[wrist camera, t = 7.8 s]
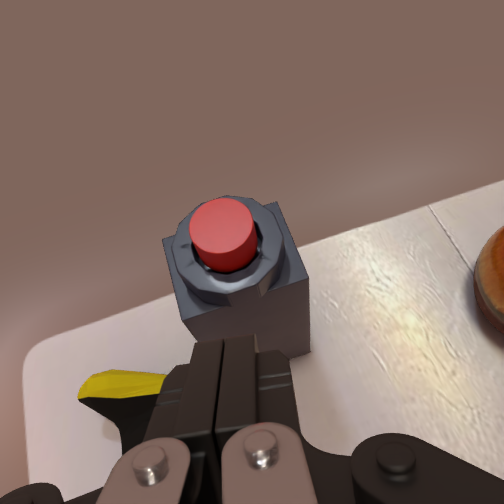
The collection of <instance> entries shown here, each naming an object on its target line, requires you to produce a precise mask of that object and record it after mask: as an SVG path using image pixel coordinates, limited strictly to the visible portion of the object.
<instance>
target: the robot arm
mask: <svg viewBox="0 0 504 504" xmlns="http://www.w3.org/2000/svg"><path fill="white" fill-rule="evenodd" d="M159 393H160V395H158V398H157V401H156V407H154V410H153V413H152V416H151V419H150V422H149V424H148V427H147V430H146V433H145V436H144V439H143V442H142V443H141V444H139V445H137V446H135V447H133V448H132V449H130V450H129V451H128V452H126V453H125V454H124V455H123V456H122V457H121V458H120V459H119V460H118V461H117V463H116V464H115V466H114V467H113V469H112V471H111V473H110V475H109V477H108V479H107V481H106V483H105V485H104V487H101V488H99V489H97V490H94V491H92V492H89V493H87V494H84V495H82V496H79V497H77V498H74V499H72V500H69V501H66V502H64V500H63V498H62V495H61V492H60V490H59V489H58V488H57V487H56V486H55V485H53V484H49V483H34V484H30V485H26V486H23V487H20V488H18V489H16V490H14V491H12V492H10V493H8V494H6V495H4V496H3V497H2V498H0V504H504V480H502V479H500V478H498V477H496V476H494V475H492V474H490V473H488V472H486V471H484V470H482V469H480V468H478V467H476V466H474V465H472V464H470V463H468V462H466V461H464V460H462V459H460V458H458V457H456V456H454V455H452V454H450V453H448V452H446V451H443V450H441V449H439V448H437V447H435V446H433V445H431V444H429V443H427V442H425V441H423V440H421V439H419V438H416V437H414V436H410V435H406V434H400V433H385V434H379V435H376V436H372V437H370V438H368V439H366V440H364V441H363V442H361V443H360V444H359V445H358V446H357V447H356V448H355V450H354V451H353V453H352V456H344V455H336V454H330V453H327V452H324V451H321V450H319V449H317V448H315V447H313V446H312V445H310V444H309V443H308V442H307V441H306V440H305V439H304V437H303V436H302V434H301V430H300V424H299V417H298V411H297V405H296V399H295V393H294V387H293V382H292V376H291V370H290V364H289V359H288V358H287V357H286V356H285V355H284V354H283V353H282V352H281V351H279V350H272V351H266V352H260V353H259V349H258V344H257V339H256V335H255V333H253V334H247V335H240V336H234V337H228V338H226V340H225V339H224V338H222V339H216V340H209V341H203V342H197V343H195V345H194V348H193V352H192V356H191V360H190V364H184V365H177V366H176V367H175V368H174V369H173V370H172V371H171V372H170V373H169V374H168V375H167V376H166V377H165V378H164V380H163V383H162V386H161V389H160V392H159Z"/></svg>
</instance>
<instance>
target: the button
mask: <svg viewBox="0 0 504 504" xmlns="http://www.w3.org/2000/svg"><path fill="white" fill-rule="evenodd" d="M189 234H190V238H191V240H192V242H193V244H194V246H195V248H196V250H197V252H198V255H199V257H200V259H201V260H202V262H203V263H204V264H205V265H206V266H207V267H209V268H210V269H212V270H215V271H218V272H233V271H236V270H239V269H241V268H243V267H244V266H246V265H247V264H248V263H249V262H250V261H251V260H252V259H253V257H254V256H255V254H256V251H257V247H258V240H257V235H256V230H255V226H254V221H253V217H252V214H251V212H250V210H249V209H248V208H247V207H246V206H245V205H244V204H243V203H241V202H239V201H237V200H234V199H230V198H219V199H214V200H211V201H209V202H207V203H205V204H203V205H202V206H201V207H199V208H198V209H197V210H196V212H195V213H194V214H193V216H192V218H191V220H190V224H189Z"/></svg>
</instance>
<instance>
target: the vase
mask: <svg viewBox="0 0 504 504" xmlns="http://www.w3.org/2000/svg"><path fill="white" fill-rule="evenodd" d="M474 291H475V296H476V299H477V302H478V305H479V307H480V309H481V311H482V312H483V314H484V315H485V317H486V318H487V319H488V321H489V322H490V323H491V324H492V325H493V326H494V327H495V328H496V329H498V330H499V331H500V332H501V333H503V334H504V226H502V227H501V228H500V229H498V230H497V231H496V232H495V233H494V234H493V235H492V236H491V237H490V238H489V240H488V241H487V243H486V244H485V245H484V247H483V248H482V250H481V252H480V255H479V257H478V259H477V262H476V266H475V271H474Z"/></svg>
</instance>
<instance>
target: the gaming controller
mask: <svg viewBox="0 0 504 504" xmlns="http://www.w3.org/2000/svg"><path fill="white" fill-rule="evenodd" d="M166 376H167V375H164V374H155V373H146V372H135V371H124V370H113V369H112V370H108V371H105V372H101V373H97V374H94V375H92V376H91V377H89V378H88V379H87V380H86V382H85V383H84V384H83V385H82V387H81V388H80V390H79V393H78V396H77V398H78V400H79V402H81V403H83V404H84V405H86V406H88V407H90V408H91V409H93V410H95V411H96V412H98V413H100V414H101V415H103V416H104V417H106V418H108V419H109V420H111V421H113V422H114V423H115V425H116V426H117V427H118V429H119V431H120V436H121V443H122V456H123V455H124V454H125V453H126V452H128V451H129V450H130V449H132V448H133V447H135V446H137V445H139V444H141V443H142V442H143V439H144V436H145V433H146V430H147V427H148V424H149V422H150V419H151V416H152V413H153V410H154V407H156V401H157V398H158V395H160V393H159V392H160V389H161V386H162V383H163V380H164V378H165V377H166Z"/></svg>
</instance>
